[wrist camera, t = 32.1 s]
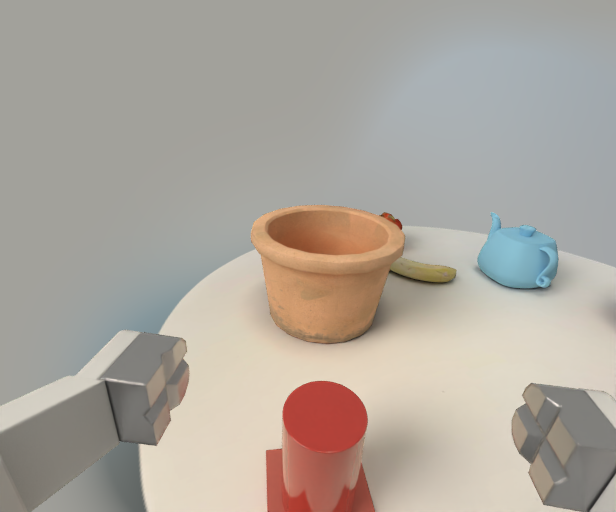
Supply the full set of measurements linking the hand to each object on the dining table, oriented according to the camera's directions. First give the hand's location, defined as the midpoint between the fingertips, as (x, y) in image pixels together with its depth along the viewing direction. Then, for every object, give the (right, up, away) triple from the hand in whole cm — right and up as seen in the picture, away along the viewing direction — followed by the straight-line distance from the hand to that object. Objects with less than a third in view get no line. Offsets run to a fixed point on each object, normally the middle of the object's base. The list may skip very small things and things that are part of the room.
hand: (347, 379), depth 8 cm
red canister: (0, -18, +22) cm, 28 cm away
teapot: (+40, -1, +62) cm, 74 cm away
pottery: (+1, -6, +48) cm, 48 cm away
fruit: (+20, 0, +61) cm, 65 cm away
